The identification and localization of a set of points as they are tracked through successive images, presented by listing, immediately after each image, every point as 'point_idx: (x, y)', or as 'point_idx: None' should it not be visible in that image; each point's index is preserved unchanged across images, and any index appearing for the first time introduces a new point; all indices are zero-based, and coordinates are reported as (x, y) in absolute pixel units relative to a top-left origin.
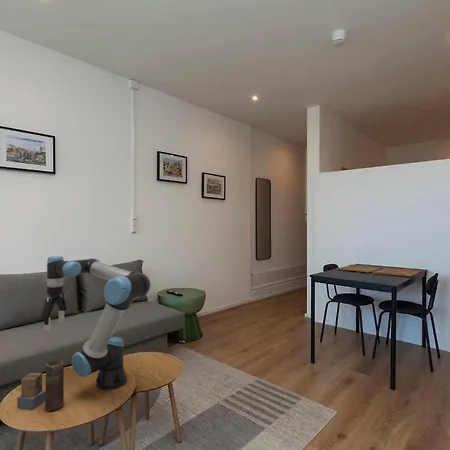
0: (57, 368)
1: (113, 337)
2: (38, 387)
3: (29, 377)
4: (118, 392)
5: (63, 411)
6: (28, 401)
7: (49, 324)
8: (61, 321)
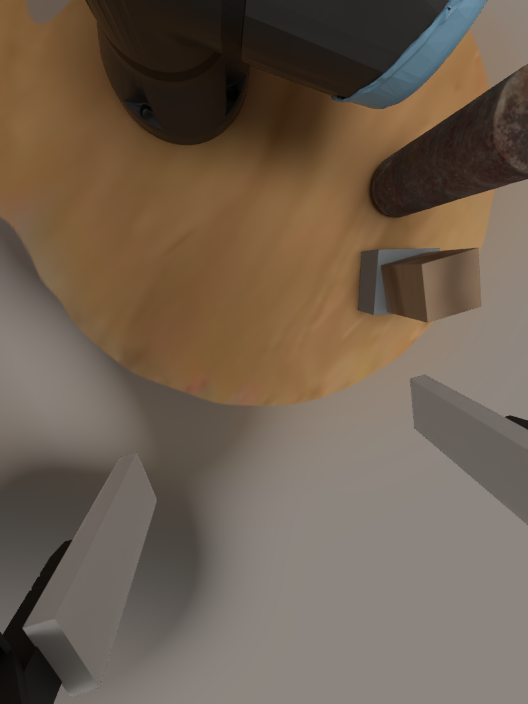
0: None
1: None
2: (419, 257)
3: (463, 287)
4: None
5: (412, 134)
6: None
7: (484, 408)
8: (139, 487)
